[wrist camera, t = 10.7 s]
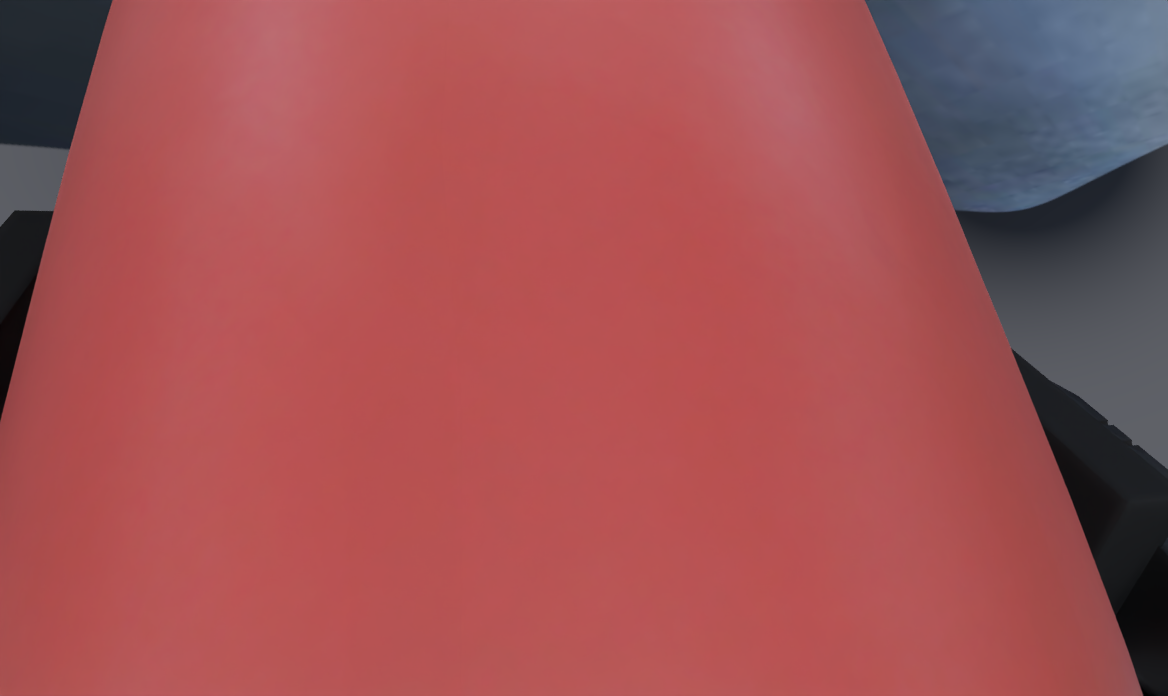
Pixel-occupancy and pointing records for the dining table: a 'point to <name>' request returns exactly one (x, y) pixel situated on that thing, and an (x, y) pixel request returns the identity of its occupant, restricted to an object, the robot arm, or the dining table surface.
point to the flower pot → (523, 371)
